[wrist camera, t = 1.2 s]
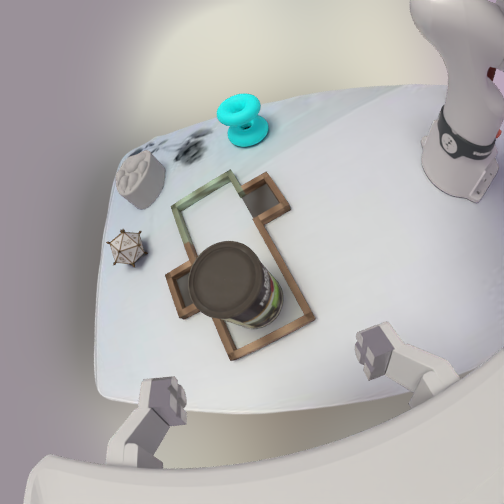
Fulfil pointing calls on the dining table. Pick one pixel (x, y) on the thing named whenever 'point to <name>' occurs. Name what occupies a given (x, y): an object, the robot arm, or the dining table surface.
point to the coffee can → (234, 286)
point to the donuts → (243, 119)
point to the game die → (127, 248)
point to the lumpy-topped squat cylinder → (140, 179)
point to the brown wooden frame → (263, 211)
